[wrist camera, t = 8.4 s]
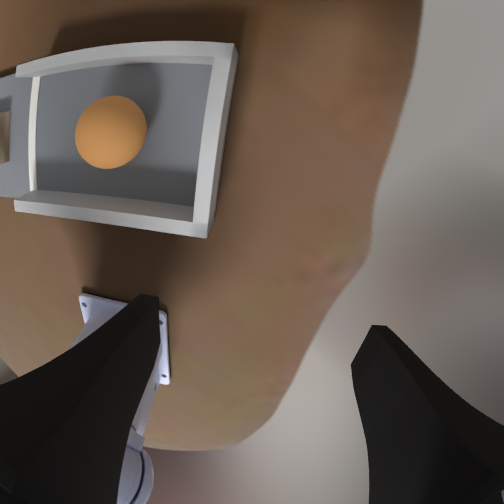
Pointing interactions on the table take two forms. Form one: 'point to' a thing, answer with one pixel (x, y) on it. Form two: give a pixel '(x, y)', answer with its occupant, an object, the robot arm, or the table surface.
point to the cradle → (4, 136)
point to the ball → (110, 132)
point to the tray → (155, 145)
